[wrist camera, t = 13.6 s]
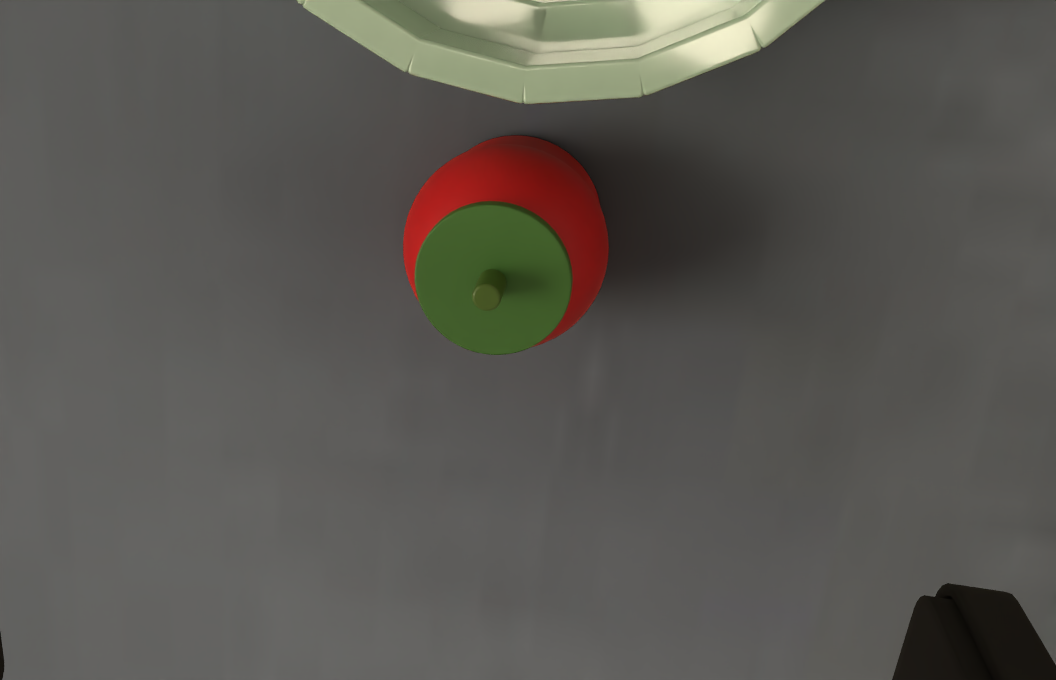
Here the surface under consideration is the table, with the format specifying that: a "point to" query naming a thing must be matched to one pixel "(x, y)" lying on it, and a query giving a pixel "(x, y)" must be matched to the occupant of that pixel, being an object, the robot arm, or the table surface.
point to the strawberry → (506, 245)
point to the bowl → (561, 41)
